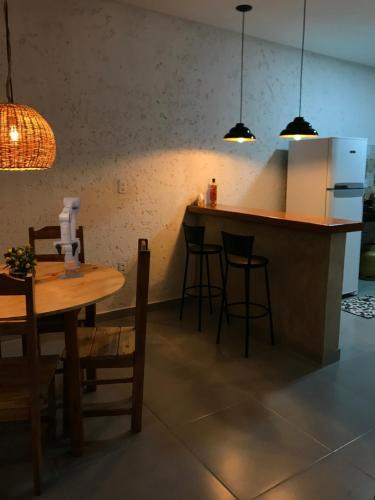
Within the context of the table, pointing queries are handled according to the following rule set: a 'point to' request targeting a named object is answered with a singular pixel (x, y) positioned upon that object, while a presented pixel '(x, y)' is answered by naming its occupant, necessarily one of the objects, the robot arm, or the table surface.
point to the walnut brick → (70, 272)
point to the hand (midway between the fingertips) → (67, 256)
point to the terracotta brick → (70, 265)
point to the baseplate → (71, 276)
